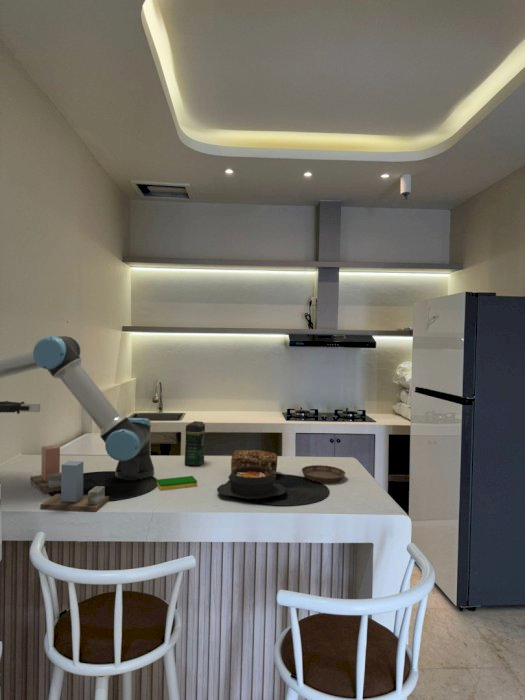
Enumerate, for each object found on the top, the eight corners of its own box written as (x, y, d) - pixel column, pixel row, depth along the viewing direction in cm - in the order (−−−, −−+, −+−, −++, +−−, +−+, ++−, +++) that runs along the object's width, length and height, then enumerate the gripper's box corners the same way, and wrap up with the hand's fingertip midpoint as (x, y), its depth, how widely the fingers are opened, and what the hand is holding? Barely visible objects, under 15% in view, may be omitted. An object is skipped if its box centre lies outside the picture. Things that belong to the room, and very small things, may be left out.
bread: (230, 477, 185) (230, 453, 184) (234, 470, 195) (234, 446, 195) (276, 479, 183) (276, 455, 183) (277, 472, 194) (278, 448, 193)
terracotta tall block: (41, 478, 172) (41, 446, 172) (55, 475, 175) (55, 444, 175) (45, 481, 168) (45, 449, 168) (59, 479, 172) (59, 447, 171)
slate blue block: (61, 501, 149) (61, 464, 149) (68, 496, 154) (69, 460, 154) (75, 502, 149) (76, 465, 148) (83, 496, 154) (83, 461, 153)
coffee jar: (199, 467, 198) (200, 424, 197) (182, 465, 199) (183, 423, 198) (206, 461, 207) (207, 420, 207) (189, 460, 209) (190, 419, 208)
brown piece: (30, 480, 175) (30, 466, 175) (57, 475, 181) (57, 462, 181) (44, 493, 161) (44, 478, 161) (73, 488, 167) (73, 473, 167)
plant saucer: (341, 472, 196) (342, 465, 195) (348, 485, 178) (348, 478, 178) (300, 471, 196) (300, 464, 196) (302, 484, 178) (302, 476, 178)
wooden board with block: (40, 508, 147) (40, 491, 147) (56, 497, 157) (56, 482, 157) (96, 511, 146) (96, 494, 146) (109, 500, 156) (109, 484, 155)
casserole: (282, 486, 175) (283, 464, 175) (289, 503, 157) (290, 479, 157) (217, 486, 173) (217, 464, 173) (216, 504, 155) (217, 479, 154)
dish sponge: (156, 485, 174) (156, 479, 174) (192, 481, 179) (192, 475, 179) (160, 491, 167) (160, 485, 167) (197, 487, 173) (197, 481, 173)
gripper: (-12, 413, 175) (48, 415, 174) (-36, 419, 162) (29, 421, 161) (-12, 393, 175) (48, 395, 173) (-36, 398, 162) (29, 400, 160)
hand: (39, 408), depth 167 cm, fingers closed
